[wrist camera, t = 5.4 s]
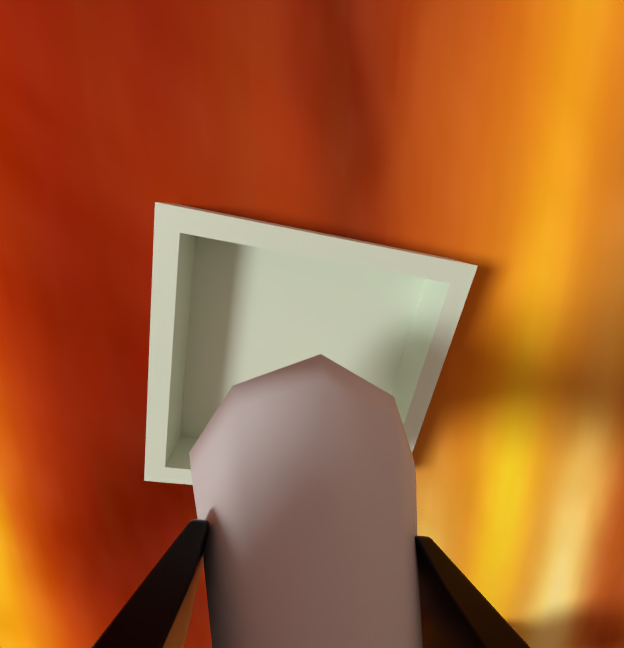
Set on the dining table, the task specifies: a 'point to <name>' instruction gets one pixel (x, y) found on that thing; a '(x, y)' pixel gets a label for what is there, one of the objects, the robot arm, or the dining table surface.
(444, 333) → the tray
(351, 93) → the dining table surface
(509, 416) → the dining table surface
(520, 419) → the dining table surface
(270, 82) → the dining table surface
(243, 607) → the flask
